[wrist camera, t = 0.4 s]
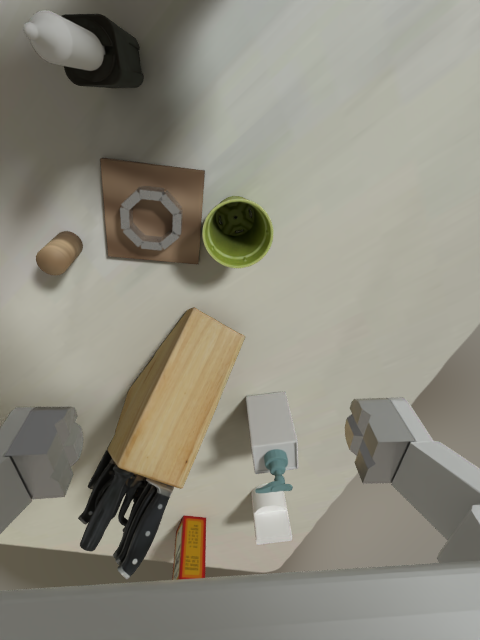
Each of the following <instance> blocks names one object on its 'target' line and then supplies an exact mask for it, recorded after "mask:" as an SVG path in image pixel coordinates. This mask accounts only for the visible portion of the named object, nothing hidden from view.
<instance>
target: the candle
mask: <svg viewBox="0 0 480 640" xmlns="http://www.w3.org/2000/svg"><path fill="white" fill-rule="evenodd" d="M24 33H25V34H26V36H27V37H28V38H29V39H30V42H31V44H32V46H33V48H34V49H35V51H36V52H37V53H38V54H39V56H40V57H42V58H43V59H44V60H46V61H47V62H50V63H52V64H57V65H62V66H64V68H65V72H66V75H67V76H68V78H69V79H70V80H71V81H72V82H73V83H74V84H76V85H79V86H91V87H106V88H132V87H139V86H140V85H141V84H142V82H143V79H144V78H143V74H142V73H141V66H140V59H139V52H138V50H139V44H138V42H137V40H136V39H135V38H134V37H133V36H131V35H130V34H128V33H127V32H126V31H124V30H123V29H122V28H120V27H119V26H117V25H116V24H115V23H113V22H112V21H111V20H109V19H108V18H106V17H105V16H103V15H100V14H74V15H62V16H60V15H58V14H56V13H53V12H51V11H46V10H43V11H38V12H36V13H35V14H33V16H32V17H31V18H30V21H29V22H27V23H25V25H24Z"/></svg>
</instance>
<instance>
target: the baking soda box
mask: <svg viewBox="0 0 480 640" xmlns="http://www.w3.org/2000/svg"><path fill="white" fill-rule="evenodd" d="M205 549H206V518H203V517H193V516H183V518H182V520H181V523H180V525H179V527H178V529H177V531H176V540H175V552H174V564H173V576H172V580H179V579H195V578H205Z"/></svg>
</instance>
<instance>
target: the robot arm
mask: <svg viewBox="0 0 480 640" xmlns="http://www.w3.org/2000/svg"><path fill="white" fill-rule="evenodd" d="M350 410H351V412H352V414H351V415H350V416H349V417H348V418H347V419H346V424H345V437H346V441H347V444H348V447H349V450H351V451H352V452H353V453H354V454H355V455H357V457H356V460H355V465H356V468H357V470H358V473H359V475H360V478H361V480H362V482H363V483H392V484H391V485H392V486H393V487H394V488H395V489H396V490H397V491H398V492H400V494H401V495H402V496H403V497H404V498H405V499H406V500H407V501H408V502H409V503H411V505H412V506H414V508H416V510H418V512H420V513H421V514H422V515H423V516H424V517H425V518H426V519H427V520H428V521H429V522H430V523H431V524H432V525H433V526H434V527H435V528H436V529H437V530H438V531H439V532H440V533H441V534H442V535H443V536H444V537H445V538H446V539H447V540H448V541H447V542H446V544H445V545H444V547H443V548H442V549H441V551H440V552H439V554H438V557H437V559H438V561H439V563H433V564H417V565H402V566H385V567H369V568H353V569H338V570H322V571H306V572H290V573H275V574H258V575H243V576H227V577H211V578H195V579H179V580H164V581H148V582H133V583H118V584H101V585H85V586H71V587H54V588H40V589H39V588H38V589H23V590H7V591H0V640H480V468H478V467H477V466H475V465H474V464H472V463H471V462H469V461H468V460H466V459H465V458H463V457H462V456H460V455H459V454H457V453H455V452H454V451H453V450H451V449H449V448H448V447H447V446H445V445H444V444H442V443H441V442H439V441H433V439H432V438H431V436H430V435H429V433H428V432H427V430H426V429H425V427H424V426H423V424H422V422H421V421H420V419H419V418H418V416H417V415H416V413H415V412H414V410H413V409H412V407H411V406H410V404H409V403H408V401H407V400H406V399H405V398H403V397H399V398H369V399H354V400H353V401H352V402H351V406H350ZM76 418H77V413H76V410H75V408H74V407H17V408H15V409H14V410H12V411H11V412H10V414H9V415H8V417H7V419H6V420H5V422H4V423H3V425H2V426H1V428H0V534H1V533H2V532H3V531H4V530H5V528H6V527H7V526H8V525H9V524H10V523H11V522H12V521H13V520H14V519H15V518H16V517H17V516H18V515H19V514H20V513H21V512H22V511H23V510H24V509H25V508H26V507H27V506H28V505H29V504H30V503H31V502H32V500H31V499H42V498H56V497H65V495H66V492H67V490H68V487H69V484H70V482H71V479H72V476H73V472H72V469H71V466H72V465H73V464H74V463H75V462H77V461H78V460H79V457H80V454H81V451H82V446H83V432H82V428H81V426H80V425H78V424H77V423H75V421H76Z"/></svg>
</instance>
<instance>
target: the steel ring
mask: <svg viewBox="0 0 480 640" xmlns="http://www.w3.org/2000/svg"><path fill="white" fill-rule="evenodd" d="M141 199H146V200H155V201H161V202H162V204H163V205H164V206H165V207H166V208H167V209H168V210H169V211H170V213H171V214H172V215H173V228H172V229H171V230H170V231H168V232H167V233H166V234H165V235H164V236H163V237H159V236H149V235H145V234H144V233H143V232H142V231H141V230H140V229H139V228H138V227H137V226H136V225H135V224H134V223H133V206H134V205H136V204H137V203H138V202H139V201H140V200H141ZM121 205H122V206H121V207H120V217H121V229H124V230H123V233H124V234H125V235H126V236H127V237H128V238H129V239H130V240H131V241H132V242H133V243H134V244H135V245H136V246H137V247H139V246H140V245H141V249H151V250H161V251H162V248H163V249H164V250H165V249H166V248H167V247H169V246H170V245H171V244H172V243H173V242H175V241H176V240H177V239H178V238H179V237H180V235H181V232H182V217H183V209H181V207H182V206H181V205H180V204H179V203H178V202H177V200H176V199H175V198H174V197H173V196H172V195H171V193H170V192H169V191H168V190H166V191H165V192H164V188H159V187H151V186H142V187H139V188H138V189H136V190H135V191H134V192H133V193H132V194H131V195H130V196H129V197H128V198H127V199H126V200H125V201H124V202H123V203H122V204H121Z"/></svg>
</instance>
